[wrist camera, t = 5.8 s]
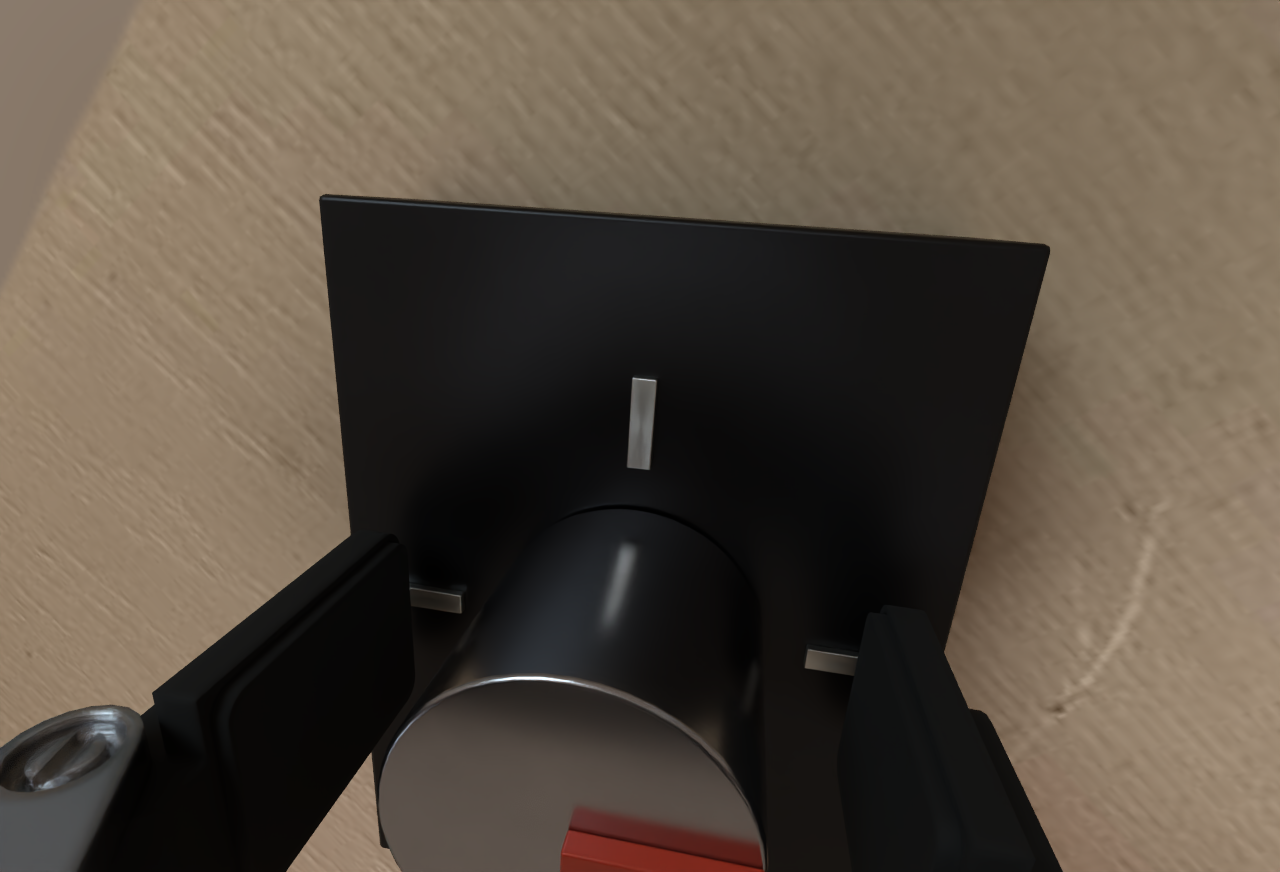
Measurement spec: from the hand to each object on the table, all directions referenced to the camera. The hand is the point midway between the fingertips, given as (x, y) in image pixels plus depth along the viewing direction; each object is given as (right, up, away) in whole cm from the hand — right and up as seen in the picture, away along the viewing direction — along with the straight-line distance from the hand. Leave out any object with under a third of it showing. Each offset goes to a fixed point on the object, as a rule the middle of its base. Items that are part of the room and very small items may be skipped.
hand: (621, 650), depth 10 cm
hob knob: (0, 0, +1) cm, 1 cm away
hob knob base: (+1, +1, +3) cm, 4 cm away
